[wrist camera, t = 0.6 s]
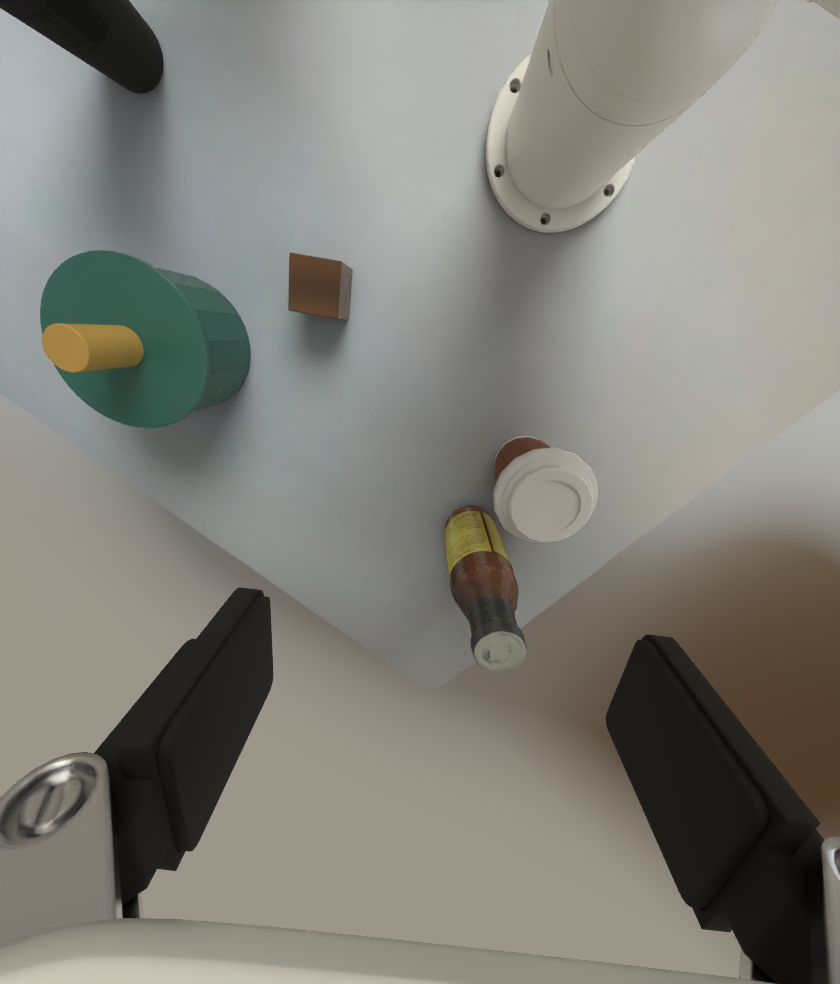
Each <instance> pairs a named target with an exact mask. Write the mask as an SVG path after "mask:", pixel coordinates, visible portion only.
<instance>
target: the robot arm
mask: <svg viewBox="0 0 840 984" xmlns="http://www.w3.org/2000/svg"><path fill="white" fill-rule="evenodd" d="M777 1H778V0H550V1H549V4H548V7H547V10H546V13H545V16H544V19H543V22H542V25H541V28H540V31H539V34H538V37H537V40H536V43H535V46H534V49H533V52H532V53H531V54H529V55H528V56H527V57H526V58H525V59H523V60H522V61H521V63H520V64H519V65H518V66H517V67H516V68H515V70H514V71H513V72H512V73H511V74H510V76H509V77H508V79H507V81H506V82H505V84H504V86H503V87H502V89H501V91H500V93H499V95H498V98H497V100H496V102H495V105H494V107H493V110H492V114H491V117H490V121H489V126H488V132H487V137H486V166H487V173H488V178H489V181H490V184H491V187H492V191H493V193H494V195H495V196H496V198H497V200H498V202H499V204H500V205H501V207H502V208H503V209H504V210H505V212H506V213H507V214H508V215H509V216H510V217H511V218H512V219H514V220H515V221H516V222H517V223H518V224H520V225H522V226H524V227H526V228H528V229H530V230H534V231H538V232H543V233H558V232H563V231H567V230H571V229H573V228H576V227H578V226H580V225H583V224H584V223H586V222H587V221H589V220H590V219H592V218H594V217H595V216H596V215H597V214H599V213H600V212H601V211H602V210H603V209H605V208H606V207H607V206H608V205H609V204H610V203H611V202H612V200H613V199H614V198H615V197H616V196H617V195H618V193H619V192H620V190H621V188H622V187H623V185H624V184H625V182H626V181H627V179H628V177H629V175H630V173H631V170H632V168H633V166H634V164H635V161H636V158H637V154H638V153H639V152H641V151H642V150H643V149H644V148H645V147H646V146H647V145H648V144H649V143H651V142H652V141H653V140H654V139H655V138H656V137H657V136H658V135H659V134H661V133H662V132H663V131H664V130H665V129H666V128H667V127H668V126H669V125H671V124H672V123H673V122H674V121H675V120H676V119H677V118H678V117H679V116H681V115H682V114H683V113H684V112H685V111H686V110H687V109H688V108H689V107H691V106H692V105H693V104H694V103H695V102H696V101H697V100H698V99H699V98H701V97H702V96H703V95H704V94H705V93H706V92H707V91H708V90H709V89H710V88H711V87H712V86H713V85H714V84H716V83H717V82H718V81H719V80H720V79H721V78H722V77H723V76H724V75H725V74H726V73H727V72H728V71H729V70H730V68H731V67H732V66H733V65H734V64H735V63H736V62H737V61H738V60H739V59H740V57H741V56H742V55H743V54H744V52H745V51H746V50H747V49H748V47H749V46H750V44H751V43H752V42H753V40H754V39H755V37H756V36H757V35H758V33H759V32H760V30H761V29H762V27H763V26H764V24H765V22H766V21H767V19H768V18H769V16H770V14H771V12H772V10H773V8H774V7H775V5H776V3H777ZM806 1H808V2H815V3H816V4H818V5H819V6H821V7H822V8H824V9H825V10H827V11H828V12H830V13H831V14H833V15H834V16H836V17H837V18H839V19H840V0H806ZM511 89H515V90H516V93H512V92H511ZM496 172H500V175H501V176H500V177H496V176H495V173H496ZM604 191H607V196H605V195H604ZM541 219H545V224H541ZM272 682H273V656H272V633H271V610H270V599H269V597H265V596H264V594H263V591H262V590H257V589H248V588H237V589H236V590H235V591H234V592H233V593H232V595H231V596H230V597H229V598H228V600H227V601H226V602H225V603H224V605H223V606H222V607H221V608H220V610H219V611H218V612H217V613H216V615H215V616H214V617H213V619H212V620H211V621H210V622H209V624H208V625H207V626H206V627H205V629H204V630H203V631H202V632H201V634H200V635H199V636H198V637H197V639H191V640H189V641H187V642H186V643H185V644H184V645H183V646H182V647H181V648H180V649H179V651H178V652H177V653H176V654H175V655H174V657H173V658H172V659H171V660H170V662H169V663H168V664H167V665H166V666H165V668H164V669H163V670H162V671H161V673H160V674H159V675H158V676H157V677H156V679H155V680H154V681H153V682H152V683H151V685H150V686H149V687H148V688H147V690H146V691H145V692H144V693H143V694H142V696H141V697H140V698H139V699H138V700H137V702H136V703H135V704H134V705H133V706H132V708H131V709H130V710H129V711H128V713H127V714H126V715H125V716H124V717H123V719H122V720H121V721H120V723H119V724H118V725H117V726H116V727H115V728H114V730H113V731H112V732H111V733H110V734H109V736H108V737H107V738H106V739H105V741H104V742H103V743H102V744H101V745H100V747H99V748H98V749H97V750H96V751H95V753H94V754H93V753H88V752H82V753H72V754H68V755H65V756H61V757H58V758H55V759H53V760H51V761H49V762H47V763H45V764H43V765H41V766H39V767H37V768H35V769H34V770H32V771H31V772H30V773H28V774H27V775H25V776H24V777H23V778H21V779H20V780H18V781H17V782H16V783H15V784H14V785H13V786H12V787H11V788H10V789H9V790H8V791H7V792H6V793H5V794H4V795H3V796H2V797H1V798H0V984H840V837H829V838H828V839H826V840H824V839H823V838H822V837H821V835H820V834H819V833H818V831H817V830H816V828H817V827H818V825H819V824H820V822H819V821H818V820H817V818H816V817H815V816H814V815H813V814H812V812H811V811H810V810H809V808H808V807H807V806H806V805H805V803H804V802H803V801H802V799H801V798H800V797H799V796H798V795H797V793H796V792H795V791H794V790H793V788H792V787H791V786H790V784H789V783H788V782H787V781H786V779H785V778H784V777H783V776H782V774H781V773H780V772H779V770H778V769H777V768H776V767H775V765H774V764H773V763H772V762H771V760H770V759H769V758H768V757H767V755H766V754H765V753H764V752H763V750H762V749H761V748H760V747H759V745H758V744H757V743H756V741H755V740H754V739H753V738H752V736H751V735H750V734H749V733H748V731H747V730H746V729H745V728H744V726H743V725H742V724H741V722H740V721H739V720H738V719H737V717H736V716H735V715H734V714H733V712H732V711H731V710H730V709H729V707H728V706H727V705H726V704H725V702H724V701H723V700H722V699H721V697H720V696H719V695H718V693H717V692H716V691H715V690H714V688H713V687H712V686H711V685H710V683H709V682H708V681H707V680H706V678H705V677H704V676H703V675H702V673H701V672H700V671H699V669H698V668H697V667H696V666H695V664H694V663H693V662H692V661H691V659H690V658H689V657H688V656H687V654H686V653H685V652H684V651H683V649H682V648H681V647H680V646H679V644H678V643H677V642H676V641H675V640H674V639H673V638H671V637H665V636H656V635H645V636H644V637H643V638H642V639H641V640H638V641H637V642H636V643H635V645H634V648H633V650H632V653H631V655H630V658H629V660H628V662H627V665H626V667H625V670H624V672H623V675H622V677H621V679H620V682H619V685H618V687H617V689H616V692H615V694H614V696H613V699H612V701H611V704H610V706H609V709H608V711H607V714H606V725H607V729H608V731H609V733H610V736H611V738H612V740H613V743H614V745H615V747H616V749H617V752H618V754H619V756H620V758H621V761H622V763H623V765H624V768H625V770H626V772H627V775H628V777H629V779H630V781H631V784H632V786H633V788H634V790H635V793H636V795H637V797H638V800H639V802H640V804H641V806H642V809H643V811H644V813H645V816H646V818H647V820H648V822H649V824H650V827H651V829H652V831H653V834H654V836H655V838H656V841H657V843H658V845H659V847H660V850H661V852H662V854H663V857H664V859H665V861H666V863H667V866H668V868H669V870H670V872H671V875H672V877H673V879H674V881H675V884H676V886H677V888H678V891H679V893H680V895H681V897H682V898H683V900H684V901H685V902H686V904H688V905H689V906H690V907H692V908H693V911H694V913H695V915H696V917H697V919H698V922H699V924H700V926H701V928H702V929H705V930H715V931H724V932H730V931H731V930H733V932H734V934H735V936H736V938H737V940H738V942H739V944H740V946H741V958H740V971H739V978H731V977H723V976H714V975H706V974H697V973H689V972H680V971H671V970H663V969H655V968H646V967H637V966H629V965H620V964H611V963H603V962H594V961H586V960H577V959H567V958H559V957H550V956H541V955H532V954H522V953H514V952H504V951H494V950H485V949H477V948H467V947H458V946H449V945H440V944H431V943H422V942H413V941H403V940H393V939H384V938H374V937H365V936H355V935H344V934H336V933H325V932H316V931H307V930H297V929H287V928H277V927H268V926H256V925H243V924H231V923H217V922H206V921H193V920H181V919H144V918H143V907H142V897H141V892H142V891H143V890H145V889H146V888H147V887H148V885H149V883H150V881H151V879H152V877H153V876H154V874H155V872H156V870H157V869H163V870H172V871H176V870H177V868H178V866H179V864H180V861H181V859H182V857H183V855H184V853H185V851H193V850H194V848H195V847H196V846H197V844H198V842H199V840H200V838H201V836H202V834H203V832H204V830H205V828H206V825H207V823H208V821H209V819H210V817H211V815H212V813H213V811H214V809H215V806H216V804H217V802H218V800H219V798H220V796H221V794H222V792H223V789H224V787H225V785H226V783H227V781H228V779H229V777H230V774H231V772H232V770H233V768H234V766H235V764H236V761H237V760H238V757H239V755H240V753H241V751H242V749H243V747H244V745H245V742H246V740H247V738H248V736H249V734H250V732H251V730H252V727H253V726H254V723H255V721H256V719H257V717H258V715H259V713H260V711H261V709H262V706H263V704H264V702H265V700H266V698H267V696H268V693H269V691H270V689H271V685H272Z"/></svg>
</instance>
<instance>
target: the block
mask: <svg viewBox="0 0 840 984" xmlns="http://www.w3.org/2000/svg"><path fill="white" fill-rule="evenodd" d="M351 283H352V269H351V268H349V267H348V266H347V265H345V264H344V263H343V262H341V261H336V260H330V259H324V258H318V257H312V256H306V255H301V254H295V253H290V261H289V308H288V310H289V311H295V312H301V313H307V314H313V315H319V316H325V317H331V318H337V319H343V320H349V309H350V296H351Z"/></svg>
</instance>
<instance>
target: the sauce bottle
mask: <svg viewBox="0 0 840 984" xmlns="http://www.w3.org/2000/svg"><path fill="white" fill-rule="evenodd" d="M444 536H445V546H446V554H447V563H448V572H449V580H450V587H451V592H452V595H453V597H454V600H455V601H456V603H457V604H458V606H459V607H460V609H461V610H462V612H463V613H464V615H465V616H466V618H467V619H468V620H469V623H470V627H471V632H472V637H471V648H472V652H473V656H474V658H475V660H476V662H477V663H478V664H479V665H480V666H481V667H483V668H485V669H486V670H489V671H493V672H501V671H507V670H510V669H512V668H514V667H516V666H517V665H519V664H520V663H521V662H522V661H523V660H524V657H525V656H526V650H527V648H526V643H525V640H524V636H523V633H522V631H521V630H520V628H519V627H518V626H517V623H516V620H515V614H514V612H515V610H516V607H517V600H518V592H519V590H518V585H517V582H516V578H515V576H514V574H513V568H512V566H511V563H510V560H509V558H508V555H507V553H506V550H505V548H504V545H503V542H502V540H501V537H500V534H499V532H498V529H497V527H496V524H495V522H494V521H493V518H491V517H490V516H489V514H488V513H486V512H485V511H483V510H481V509H480V508H478V507H466V508H461V509H459V510H457V511H455V512H454V513H453V514H452V515H451V516H450V517H449V519H448V521H447V522H446V526H445V535H444Z"/></svg>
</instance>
